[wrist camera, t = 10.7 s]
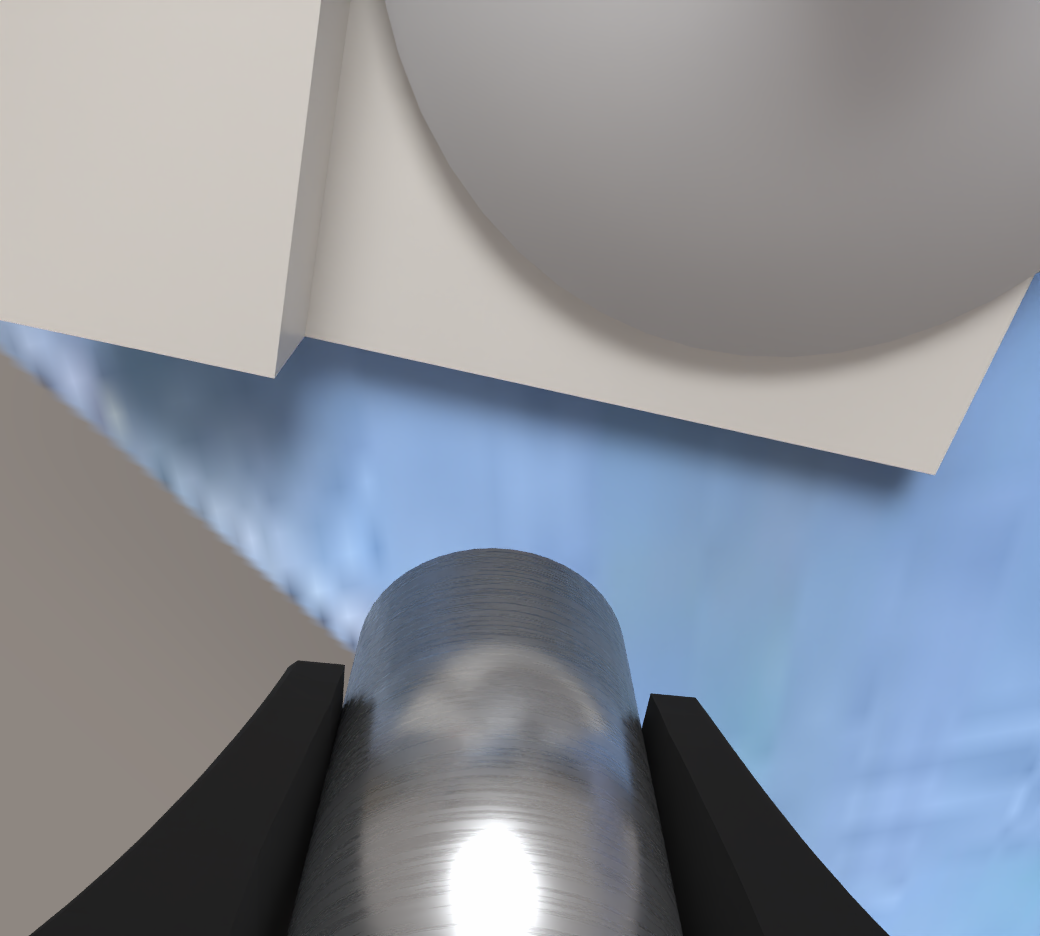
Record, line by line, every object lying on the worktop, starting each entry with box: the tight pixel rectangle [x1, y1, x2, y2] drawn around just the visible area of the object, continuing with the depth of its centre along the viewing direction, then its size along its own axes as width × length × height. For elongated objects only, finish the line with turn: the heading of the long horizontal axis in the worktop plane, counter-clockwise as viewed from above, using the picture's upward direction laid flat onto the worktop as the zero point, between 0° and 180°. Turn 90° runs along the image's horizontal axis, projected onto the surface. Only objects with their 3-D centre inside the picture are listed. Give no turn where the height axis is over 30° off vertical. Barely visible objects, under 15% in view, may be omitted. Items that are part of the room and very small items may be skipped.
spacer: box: [287, 548, 683, 936], centre depth 10 cm, size 4×4×6 cm
